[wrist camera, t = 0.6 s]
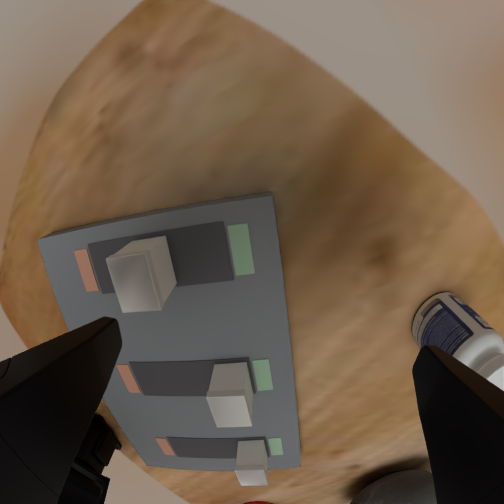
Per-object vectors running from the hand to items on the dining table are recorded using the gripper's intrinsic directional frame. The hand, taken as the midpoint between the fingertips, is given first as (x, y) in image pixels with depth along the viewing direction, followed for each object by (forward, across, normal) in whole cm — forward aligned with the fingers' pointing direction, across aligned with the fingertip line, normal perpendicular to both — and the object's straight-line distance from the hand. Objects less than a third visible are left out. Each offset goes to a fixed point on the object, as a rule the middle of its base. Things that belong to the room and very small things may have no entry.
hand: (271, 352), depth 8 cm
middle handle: (+10, +2, +12) cm, 15 cm away
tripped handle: (+10, +8, +2) cm, 13 cm away
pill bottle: (+13, -15, +7) cm, 21 cm away
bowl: (+12, -21, +36) cm, 44 cm away
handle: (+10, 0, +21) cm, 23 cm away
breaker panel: (+12, +6, +14) cm, 19 cm away
